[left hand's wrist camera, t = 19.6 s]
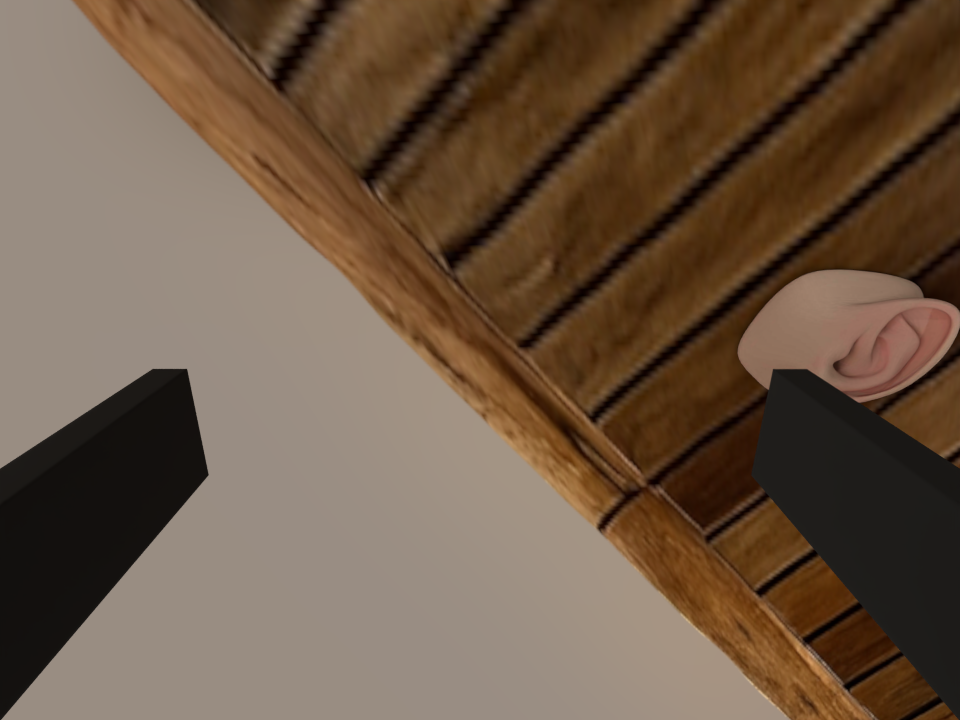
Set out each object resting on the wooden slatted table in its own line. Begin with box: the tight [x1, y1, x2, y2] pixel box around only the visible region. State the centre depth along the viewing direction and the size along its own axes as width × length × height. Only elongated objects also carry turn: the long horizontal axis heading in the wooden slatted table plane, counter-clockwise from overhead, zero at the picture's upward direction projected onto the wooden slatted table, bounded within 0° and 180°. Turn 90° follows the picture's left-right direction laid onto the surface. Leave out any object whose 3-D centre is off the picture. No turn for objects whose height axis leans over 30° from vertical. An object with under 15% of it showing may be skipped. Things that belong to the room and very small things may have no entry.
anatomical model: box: [738, 270, 960, 403], centre depth 41 cm, size 13×4×12 cm
